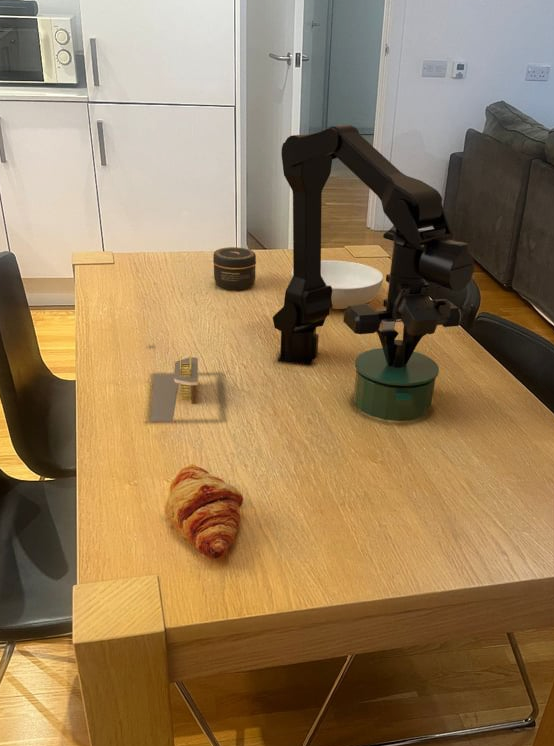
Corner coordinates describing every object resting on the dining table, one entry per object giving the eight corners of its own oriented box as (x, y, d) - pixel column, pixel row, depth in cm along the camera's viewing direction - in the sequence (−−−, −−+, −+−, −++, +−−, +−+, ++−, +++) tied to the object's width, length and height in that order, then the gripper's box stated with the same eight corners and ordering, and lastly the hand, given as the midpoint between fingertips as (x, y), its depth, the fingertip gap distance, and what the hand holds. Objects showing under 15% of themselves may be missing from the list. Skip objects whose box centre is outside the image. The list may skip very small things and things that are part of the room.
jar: (219, 276, 185) (218, 244, 181) (259, 280, 184) (259, 248, 180) (209, 289, 177) (208, 256, 173) (251, 293, 176) (251, 260, 172)
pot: (360, 431, 124) (364, 395, 120) (347, 381, 140) (350, 348, 136) (440, 431, 125) (446, 396, 121) (419, 382, 141) (424, 349, 137)
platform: (149, 421, 123) (147, 385, 120) (154, 374, 138) (152, 340, 134) (223, 420, 125) (223, 384, 121) (220, 373, 140) (219, 340, 136)
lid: (360, 388, 122) (363, 359, 119) (349, 352, 134) (352, 325, 131) (446, 389, 123) (451, 361, 121) (428, 354, 135) (432, 327, 132)
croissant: (171, 501, 111) (142, 462, 106) (230, 465, 111) (203, 425, 106) (200, 591, 94) (167, 551, 89) (270, 550, 94) (240, 507, 89)
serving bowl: (396, 300, 177) (399, 271, 173) (352, 326, 162) (354, 295, 158) (320, 281, 186) (322, 253, 182) (272, 304, 171) (272, 274, 167)
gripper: (374, 294, 110) (363, 390, 119) (486, 286, 116) (468, 379, 125) (346, 270, 119) (338, 362, 128) (451, 264, 124) (437, 352, 133)
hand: (396, 364), depth 128 cm, fingers closed on lid, 2 cm apart
